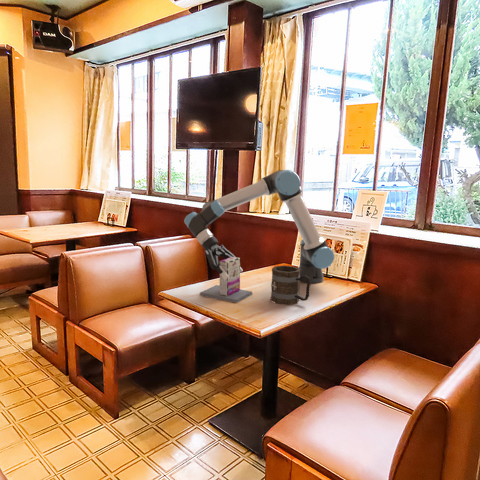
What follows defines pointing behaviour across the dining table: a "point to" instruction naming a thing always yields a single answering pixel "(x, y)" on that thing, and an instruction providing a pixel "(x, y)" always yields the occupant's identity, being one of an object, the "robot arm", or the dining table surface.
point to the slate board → (235, 297)
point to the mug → (287, 285)
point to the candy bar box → (230, 276)
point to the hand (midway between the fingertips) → (234, 275)
